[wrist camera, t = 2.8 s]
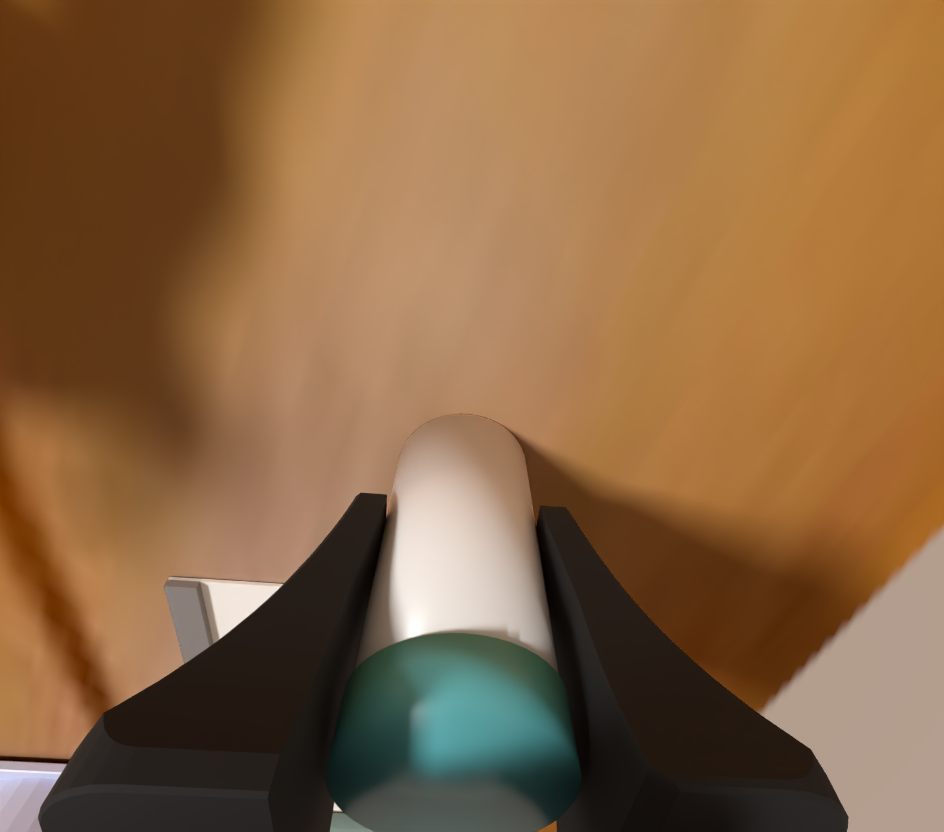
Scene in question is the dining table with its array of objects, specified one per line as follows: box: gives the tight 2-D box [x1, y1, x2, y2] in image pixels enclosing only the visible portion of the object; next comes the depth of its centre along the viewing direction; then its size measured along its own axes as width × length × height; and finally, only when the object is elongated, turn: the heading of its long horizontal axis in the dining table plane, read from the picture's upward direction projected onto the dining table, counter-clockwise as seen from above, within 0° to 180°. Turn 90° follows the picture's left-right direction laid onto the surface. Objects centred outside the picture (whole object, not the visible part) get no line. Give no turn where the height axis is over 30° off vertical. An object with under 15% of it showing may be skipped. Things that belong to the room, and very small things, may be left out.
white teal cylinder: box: [326, 414, 581, 832], centre depth 12 cm, size 4×4×8 cm
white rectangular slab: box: [164, 577, 342, 811], centre depth 21 cm, size 10×14×1 cm
